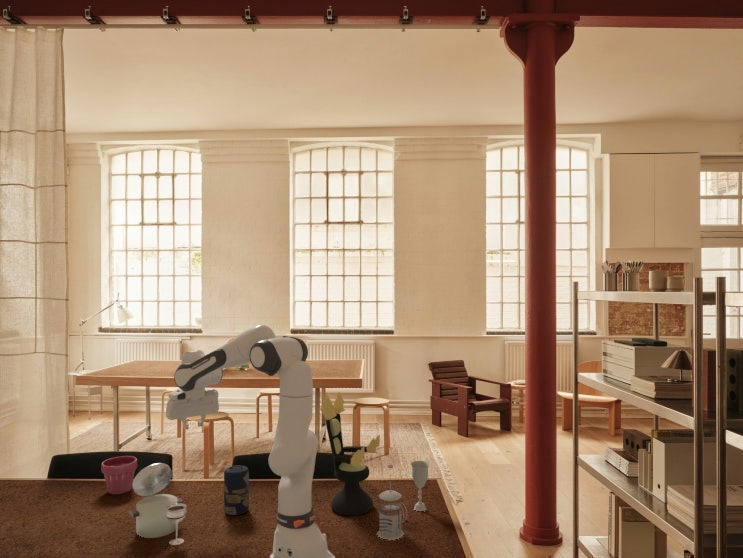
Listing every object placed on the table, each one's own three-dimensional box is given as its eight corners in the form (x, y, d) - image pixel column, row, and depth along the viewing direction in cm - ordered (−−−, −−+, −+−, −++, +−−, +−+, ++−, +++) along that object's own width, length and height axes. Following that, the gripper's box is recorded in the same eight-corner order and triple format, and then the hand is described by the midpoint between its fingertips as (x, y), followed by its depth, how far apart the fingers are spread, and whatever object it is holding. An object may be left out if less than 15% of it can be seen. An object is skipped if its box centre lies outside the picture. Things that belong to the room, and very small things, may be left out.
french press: (387, 525, 208) (387, 457, 208) (413, 534, 200) (413, 464, 200) (370, 535, 200) (370, 464, 200) (397, 544, 193) (397, 471, 193)
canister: (242, 518, 215) (242, 470, 214) (219, 515, 216) (219, 469, 216) (253, 507, 224) (252, 462, 224) (230, 506, 226) (230, 461, 226)
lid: (174, 461, 210) (172, 457, 212) (136, 469, 201) (134, 465, 203) (169, 490, 215) (167, 486, 217) (130, 500, 206) (129, 495, 207)
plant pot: (101, 487, 246) (101, 458, 246) (136, 482, 252) (136, 453, 252) (101, 499, 233) (101, 468, 233) (138, 493, 239) (137, 463, 239)
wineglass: (189, 536, 199) (189, 503, 199) (183, 546, 192) (183, 511, 192) (169, 537, 199) (169, 503, 199) (163, 546, 192) (163, 511, 192)
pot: (188, 528, 206) (188, 501, 206) (138, 543, 194) (137, 514, 194) (174, 516, 216) (174, 490, 216) (125, 529, 205) (125, 502, 205)
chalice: (408, 510, 221) (407, 464, 221) (414, 504, 227) (414, 459, 227) (425, 514, 217) (425, 467, 217) (431, 507, 223) (431, 462, 223)
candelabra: (365, 521, 211) (364, 401, 211) (311, 513, 218) (310, 397, 218) (380, 502, 229) (380, 391, 229) (330, 495, 236) (330, 388, 236)
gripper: (214, 387, 229) (214, 421, 229) (164, 394, 215) (164, 430, 215) (221, 389, 224) (221, 424, 224) (170, 396, 211) (170, 433, 211)
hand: (193, 427), depth 220 cm, fingers open, 4 cm apart
